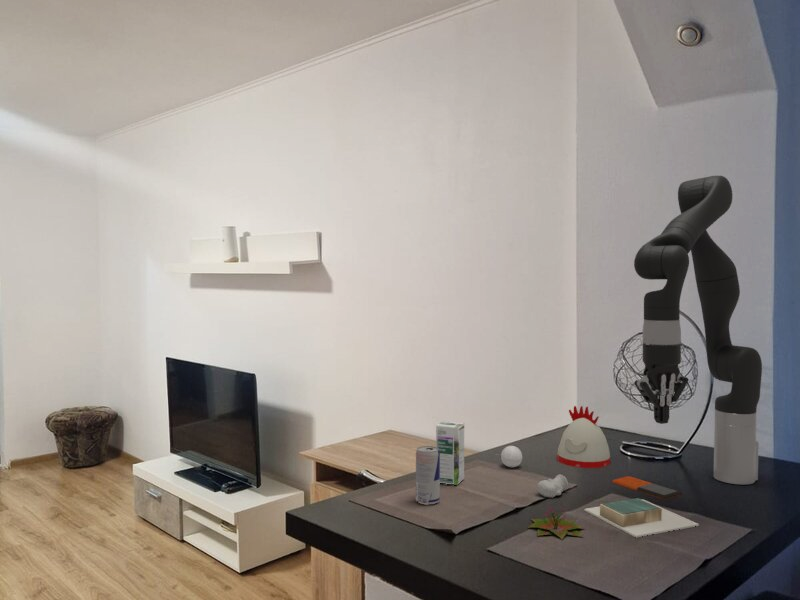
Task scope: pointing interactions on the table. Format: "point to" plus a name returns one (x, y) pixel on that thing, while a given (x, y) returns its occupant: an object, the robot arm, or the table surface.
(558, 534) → the lily flower
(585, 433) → the kitchen timer
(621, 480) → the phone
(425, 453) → the energy drink
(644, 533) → the mat
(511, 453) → the seamed sphere
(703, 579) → the table surface
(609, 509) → the slab
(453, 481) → the syrup box
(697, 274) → the robot arm
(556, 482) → the smooth white sculpture
